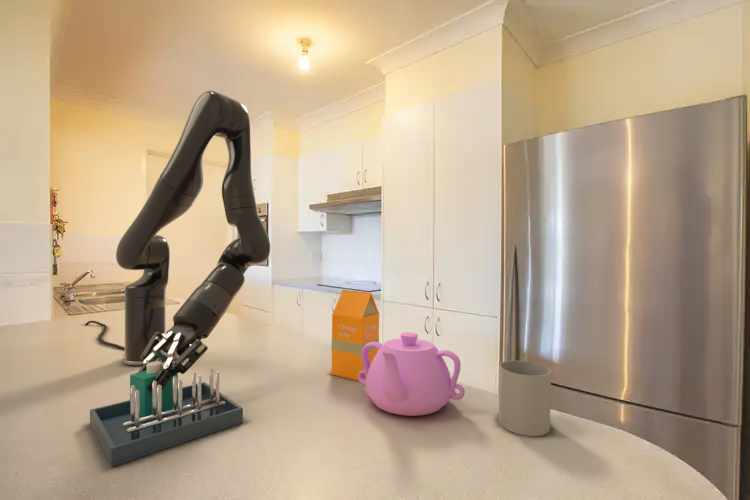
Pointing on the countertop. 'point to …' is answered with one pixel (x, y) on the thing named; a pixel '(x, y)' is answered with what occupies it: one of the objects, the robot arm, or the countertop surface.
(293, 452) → the countertop surface
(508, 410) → the cup
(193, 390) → the dish rack
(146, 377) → the detergent bottle
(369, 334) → the orange juice
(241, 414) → the drip tray
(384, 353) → the teapot
